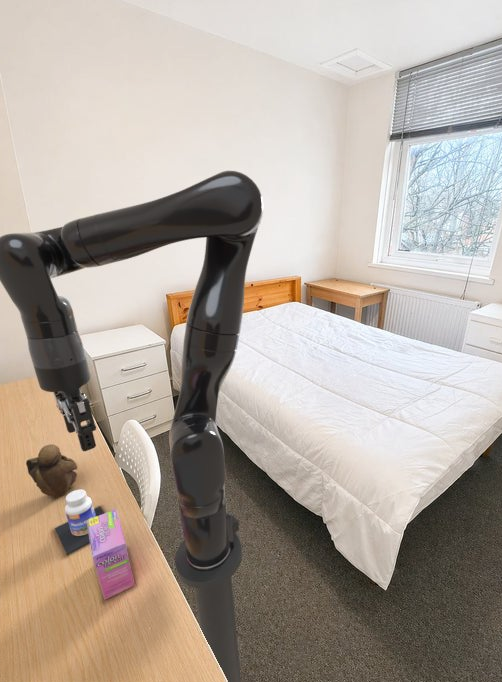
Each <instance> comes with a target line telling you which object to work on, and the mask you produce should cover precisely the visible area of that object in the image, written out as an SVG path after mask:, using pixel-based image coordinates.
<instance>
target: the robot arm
mask: <svg viewBox="0 0 502 682" xmlns="http://www.w3.org/2000/svg"><path fill="white" fill-rule="evenodd" d="M263 214H264V199H263V196H262V193H261V190H260V188H259V187H258V185H257V183H256V182H255V181H254V180H253V179H252V178H251V177H249V176H248V175H246V174H245V173H243V172H240V171H237V170H223V171H220V172H218V173H216V174H214V175H212V176H210V177H207V178H206V179H203V180H201V181H199V182H197V183H195V184H193V185H190V186H188V187H186V188H184V189H181V190H179V191H177V192H174V193H171V194H168V195H166V196H163V197H159V198H157V199H153V200H150V201H147V202H143V203H139V204H134V205H131V206H126V207H121V208H117V209H113V210H108V211H105V212H100V213H97V214H92V215H88V216H85V217H80V218H77V219H74V220H71V221H68V222H66V223H65V224H64V225H63V226H60V227H55V228H50V229H46V230H41V231H34V232H13V233H7V234H4V235H1V236H0V283H1V285H2V286H3V289H4V290H5V292H6V294H7V295H8V297H9V298H10V300H11V301H12V303H13V305H14V306H15V307H16V309H17V310H18V313H19V314H20V320H21V322H22V325H23V330H24V332H25V335H26V339H27V348H28V353H29V355H30V359H31V362H32V366H33V369H34V372H35V375H36V379H37V382H38V386H39V387H40V389H41V390H42V391H44V392H48V393H53V397H54V400H55V402H56V408H58V410H59V413H60V414H61V416H63V421H64V423H65V427H66V431H67V432H68V433H69V434H72V433H74V432H75V434H76V436H77V438H78V442H79V445H80V449H81V451H82V452H87V451H91V450H93V449H95V448H96V446H97V444H96V440H95V436H94V431H97V426H96V424H95V420H94V416H93V412H92V409H91V403H90V400H89V399H88V398H87V396H86V394H85V392H82V390H81V388H82V387H83V386H84V385H86V384H88V383H89V382H90V380H91V373H90V369H89V365H88V360H87V356H86V352H85V349H84V344H83V340H82V338H81V336H80V334H79V330H78V327H77V326H78V325H77V322H76V318H75V315H74V310H73V307H72V304H71V301H70V300H69V299H68V298H66V297H64V296H62V295H59V294H58V293H57V291H56V287H55V286H54V284H53V281H52V279H54V278H58V277H61V276H65V275H68V274H71V273H74V272H77V271H81V270H84V269H91V268H92V269H93V268H98V267H102V266H106V265H110V264H114V263H118V262H122V261H125V260H130V259H132V258H136V257H138V256H141V255H144V254H148V253H149V252H153V251H155V250H158V249H160V248H163V247H165V246H169V245H172V244H176V243H180V242H183V241H184V242H185V241H188V240H194V239H195V240H196V239H204V238H205V249H204V256H203V257H204V258H203V262H202V263H203V264H202V267H201V271H200V273H199V276H198V279H197V283H196V285H195V288H194V290H193V291H194V292H193V294H192V298H191V301H190V305H189V308H188V313H187V316H186V322H185V329H184V336H183V343H182V344H183V345H182V355H181V366H180V367H181V369H180V371H181V373H180V389H179V393H178V399H177V403H176V407H175V411H174V414H173V418H172V421H171V425H170V428H169V433H168V442H169V450H170V459H171V461H170V462H171V466H172V467H171V468H172V472H173V479H174V484H175V491H176V494H177V500H178V507H179V513H180V520H181V526H182V531H183V532H182V533H183V539H184V540H185V546H186V556H187V561H188V563H189V565H190V566H191V567H192V568H194V569H196V570H199V571H210V570H213V569H216V568H218V567H219V566H221V565H222V564H223V563H224V562H225V561H226V560H227V559H228V557H229V555H230V551H231V550H232V549H233V548H234V540H233V534H234V533H237V532H239V531H240V524H239V523H240V522H239V519H238V518H236V517H235V516H234V515H233V514H232V513H231V512H229V511H228V507H227V496H226V485H225V483H226V477H227V476H226V463H225V451H224V445H223V440H222V437H221V435H220V432H219V429H218V426H217V413H218V412H217V410H218V403H219V402H218V401H219V395H220V392H221V388H222V387H223V384H224V382H225V380H226V378H227V376H228V374H229V372H230V370H231V368H232V366H233V363H234V361H235V359H236V354H237V350H238V346H239V342H240V336H241V329H242V323H243V314H244V303H245V288H246V276H247V269H248V264H249V260H250V256H251V253H252V249H253V246H254V242H255V239H256V236H257V233H258V230H259V227H260V225H261V223H262V218H263ZM84 422H85V423H86V424H83V425H82V423H84ZM184 540H183V541H184Z"/></svg>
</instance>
